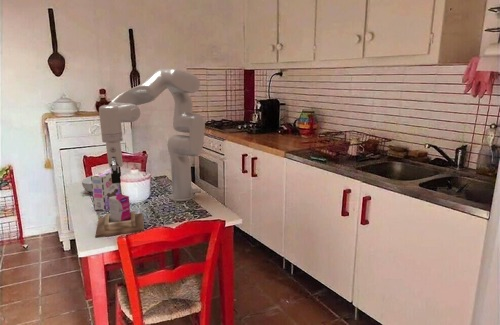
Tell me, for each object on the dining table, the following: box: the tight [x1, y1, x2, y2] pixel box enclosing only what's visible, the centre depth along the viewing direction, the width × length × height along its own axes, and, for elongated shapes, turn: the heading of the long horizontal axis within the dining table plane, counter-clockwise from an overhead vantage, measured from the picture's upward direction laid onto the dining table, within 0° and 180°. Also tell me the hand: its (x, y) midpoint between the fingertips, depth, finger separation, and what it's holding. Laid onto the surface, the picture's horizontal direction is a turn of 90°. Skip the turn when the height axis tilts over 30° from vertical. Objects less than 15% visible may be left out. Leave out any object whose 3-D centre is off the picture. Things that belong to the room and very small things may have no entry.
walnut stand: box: [95, 210, 145, 238], centre depth 152 cm, size 18×18×4 cm
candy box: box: [90, 168, 121, 212], centre depth 174 cm, size 14×6×16 cm, turn 168°
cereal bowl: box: [81, 175, 93, 193], centre depth 196 cm, size 17×17×7 cm
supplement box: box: [109, 193, 131, 223], centre depth 151 cm, size 6×6×12 cm
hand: (116, 179), depth 148 cm, fingers open, 9 cm apart
